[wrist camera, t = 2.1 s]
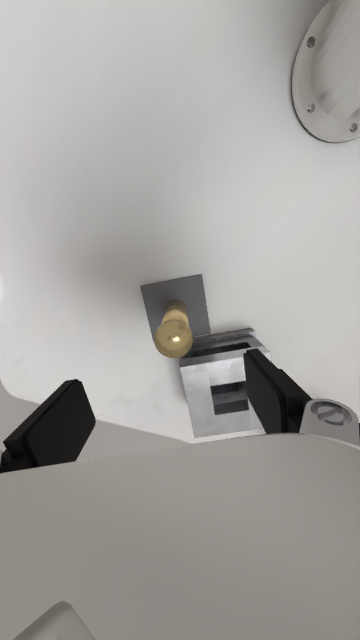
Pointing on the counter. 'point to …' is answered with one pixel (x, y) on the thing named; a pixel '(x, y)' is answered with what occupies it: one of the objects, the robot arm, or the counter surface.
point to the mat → (177, 290)
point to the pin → (174, 332)
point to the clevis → (219, 383)
